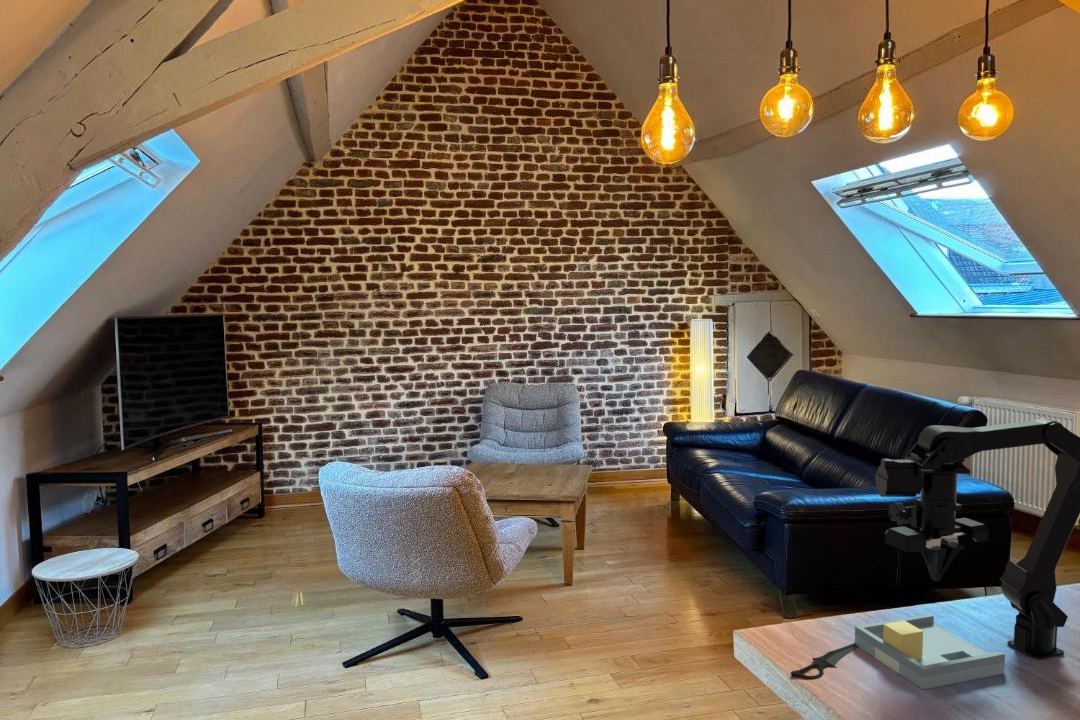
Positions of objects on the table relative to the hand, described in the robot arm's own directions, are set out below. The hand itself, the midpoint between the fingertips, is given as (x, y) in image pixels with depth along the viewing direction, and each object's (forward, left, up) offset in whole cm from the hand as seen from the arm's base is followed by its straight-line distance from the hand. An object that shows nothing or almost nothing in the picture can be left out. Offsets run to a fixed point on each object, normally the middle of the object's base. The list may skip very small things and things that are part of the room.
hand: (935, 580), depth 143 cm
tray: (+4, +3, -13) cm, 14 cm away
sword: (+18, -3, -14) cm, 23 cm away
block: (+9, +3, -11) cm, 15 cm away
